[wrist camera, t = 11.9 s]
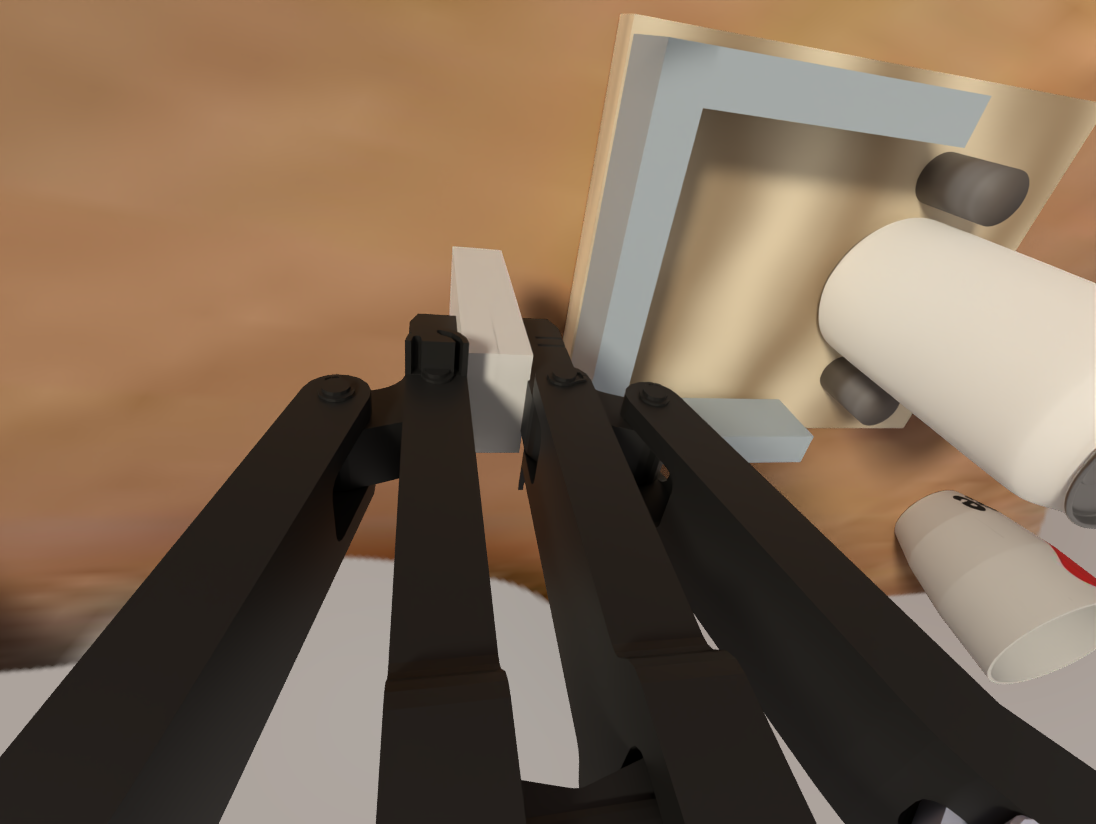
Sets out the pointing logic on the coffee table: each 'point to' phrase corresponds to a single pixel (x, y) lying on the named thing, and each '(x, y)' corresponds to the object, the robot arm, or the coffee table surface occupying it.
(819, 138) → the base plate
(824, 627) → the robot arm
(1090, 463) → the can
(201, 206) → the coffee table surface
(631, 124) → the grey frame
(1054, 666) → the cup
